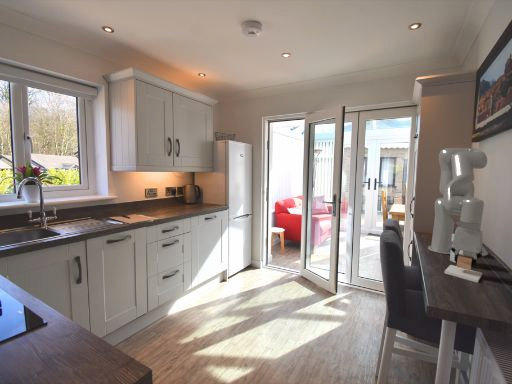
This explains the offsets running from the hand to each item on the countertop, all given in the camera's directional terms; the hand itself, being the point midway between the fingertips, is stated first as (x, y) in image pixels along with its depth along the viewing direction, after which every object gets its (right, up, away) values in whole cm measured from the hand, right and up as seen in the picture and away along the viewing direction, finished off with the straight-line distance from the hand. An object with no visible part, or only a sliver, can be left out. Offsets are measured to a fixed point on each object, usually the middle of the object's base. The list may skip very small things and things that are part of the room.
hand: (464, 264), depth 121 cm
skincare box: (+10, -4, +15) cm, 18 cm away
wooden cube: (0, -1, 0) cm, 1 cm away
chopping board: (0, -5, +1) cm, 5 cm away
